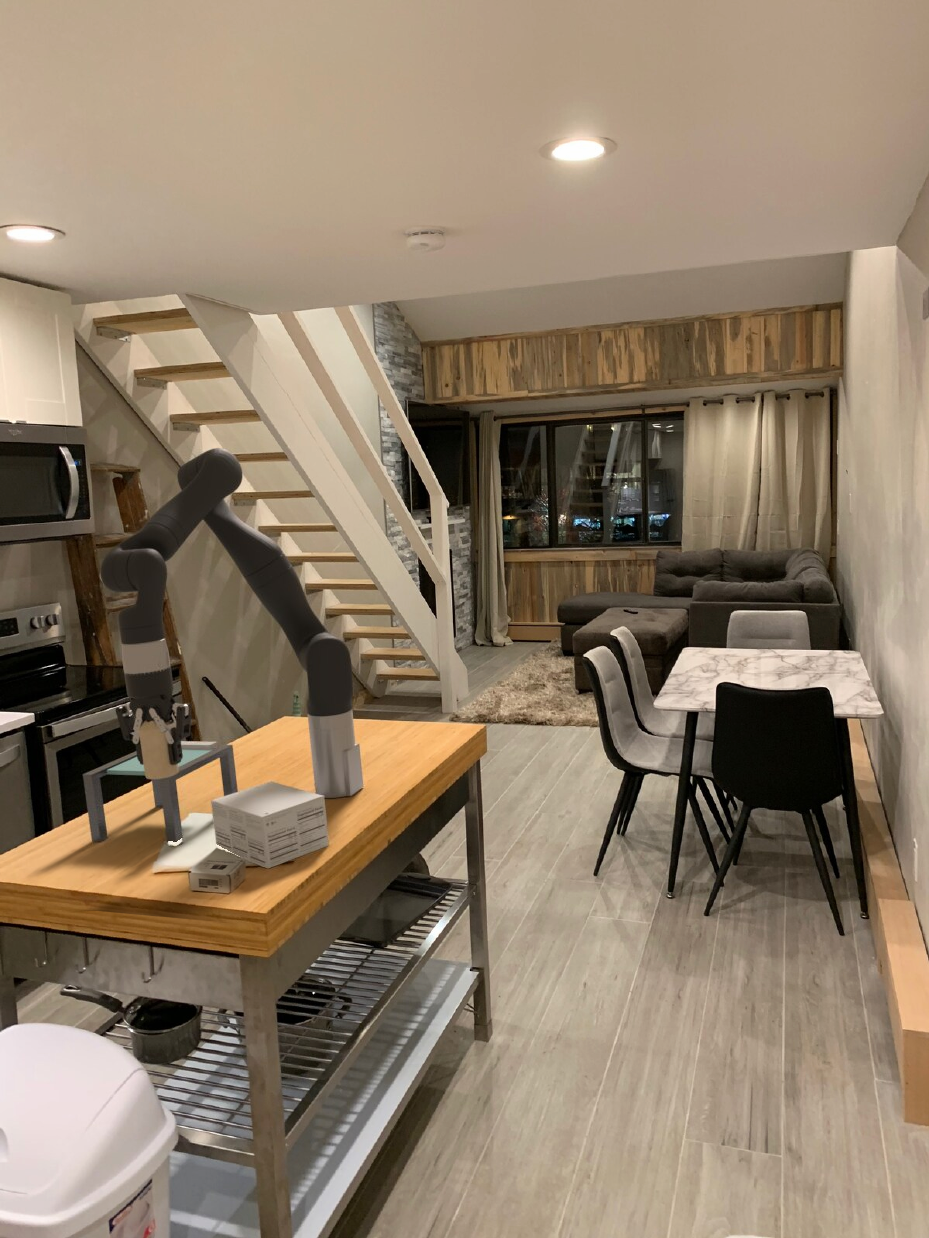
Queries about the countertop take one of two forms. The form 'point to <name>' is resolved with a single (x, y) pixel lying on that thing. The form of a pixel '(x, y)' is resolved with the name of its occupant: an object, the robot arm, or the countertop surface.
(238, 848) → the supplement box
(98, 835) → the frame
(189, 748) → the trapdoor
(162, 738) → the candle
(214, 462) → the robot arm
